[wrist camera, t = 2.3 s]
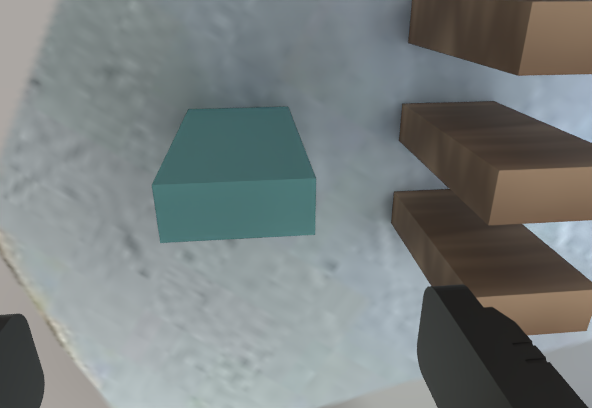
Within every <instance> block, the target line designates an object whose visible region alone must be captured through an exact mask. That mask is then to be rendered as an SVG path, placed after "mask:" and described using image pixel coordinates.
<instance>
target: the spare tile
mask: <svg viewBox="0 0 592 408" xmlns="http://www.w3.org/2000/svg"><path fill="white" fill-rule="evenodd" d="M152 190H153V197H154V204H155V210H156V217H157V224H158V231H159V237H160V243H168V242H187V241H206V240H224V239H243V238H262V237H281V236H300V235H315V211H316V177H315V174H314V172H313V169H312V167H311V164H310V162H309V159H308V156H307V154H306V151H305V149H304V146H303V144H302V141H301V139H300V136H299V133H298V131H297V128H296V126H295V123H294V121H293V118H292V116H291V113H290V110H289V108H288V107H256V108H219V109H188V111H187V113H186V115H185V117H184V120H183V122H182V124H181V126H180V128H179V130H178V132H177V134H176V136H175V138H174V140H173V142H172V144H171V146H170V148H169V151H168V153H167V155H166V157H165V159H164V161H163V163H162V165H161V167H160V169H159V171H158V173H157V175H156V177H155V179H154V182H153V184H152Z"/></svg>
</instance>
